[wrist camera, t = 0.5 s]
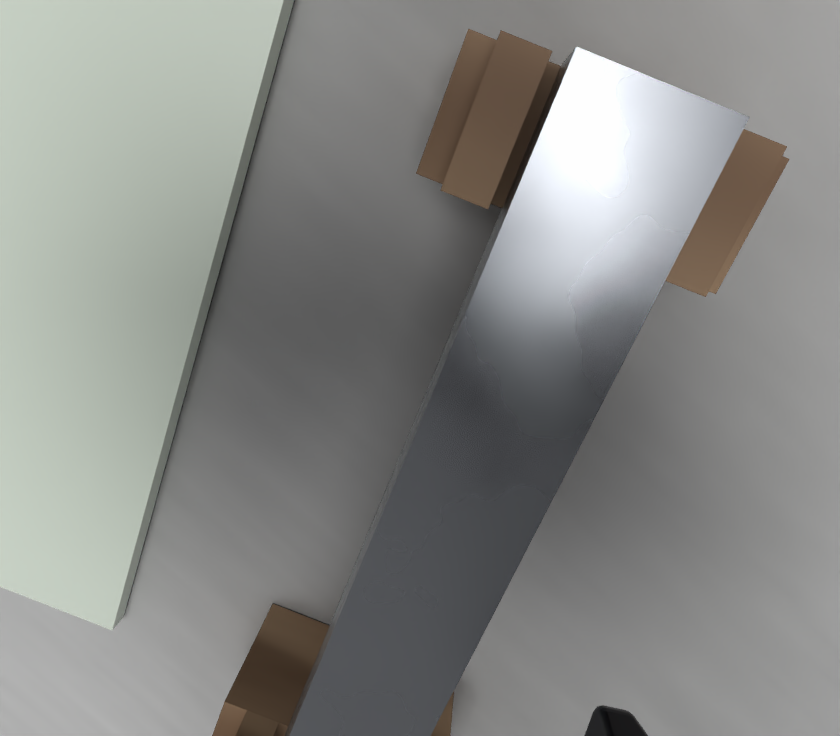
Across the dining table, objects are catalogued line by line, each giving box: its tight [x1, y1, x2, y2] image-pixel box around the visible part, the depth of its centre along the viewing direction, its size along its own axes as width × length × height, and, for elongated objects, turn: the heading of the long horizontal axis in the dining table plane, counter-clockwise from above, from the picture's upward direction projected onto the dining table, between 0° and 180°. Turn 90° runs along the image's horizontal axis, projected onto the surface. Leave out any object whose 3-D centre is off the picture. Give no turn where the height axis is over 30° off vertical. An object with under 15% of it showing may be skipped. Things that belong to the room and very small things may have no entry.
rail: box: [284, 47, 749, 736], centre depth 16 cm, size 22×3×3 cm, turn 159°
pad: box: [0, 0, 294, 630], centre depth 21 cm, size 23×9×1 cm, turn 159°
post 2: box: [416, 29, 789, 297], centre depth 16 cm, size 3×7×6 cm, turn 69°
